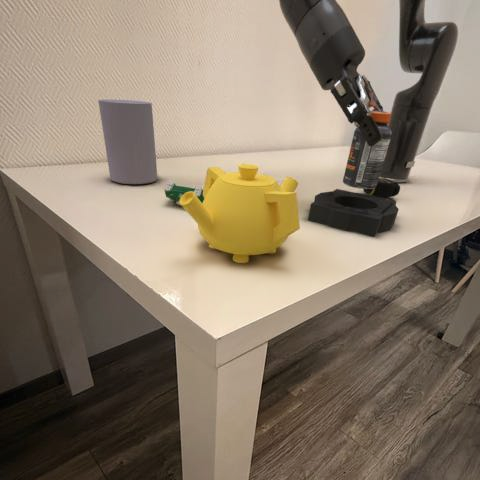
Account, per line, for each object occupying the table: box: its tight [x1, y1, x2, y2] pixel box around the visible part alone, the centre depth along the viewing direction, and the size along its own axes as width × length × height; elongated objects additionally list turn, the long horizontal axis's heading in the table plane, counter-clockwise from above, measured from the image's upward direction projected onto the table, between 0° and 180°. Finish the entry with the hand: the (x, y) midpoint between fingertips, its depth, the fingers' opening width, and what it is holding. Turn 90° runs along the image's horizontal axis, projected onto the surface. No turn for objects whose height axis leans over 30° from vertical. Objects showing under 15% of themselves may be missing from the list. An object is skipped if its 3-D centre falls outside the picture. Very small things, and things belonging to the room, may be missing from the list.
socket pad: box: [307, 188, 400, 238], centre depth 62 cm, size 15×15×3 cm
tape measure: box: [362, 178, 401, 199], centre depth 76 cm, size 7×7×4 cm
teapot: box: [179, 163, 301, 264], centre depth 45 cm, size 20×18×11 cm
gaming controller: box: [164, 179, 204, 207], centre depth 62 cm, size 9×4×6 cm
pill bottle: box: [342, 110, 392, 190], centre depth 56 cm, size 6×6×11 cm
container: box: [97, 98, 158, 186], centre depth 71 cm, size 10×10×15 cm
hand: (381, 140), depth 54 cm, fingers closed on pill bottle, 6 cm apart
